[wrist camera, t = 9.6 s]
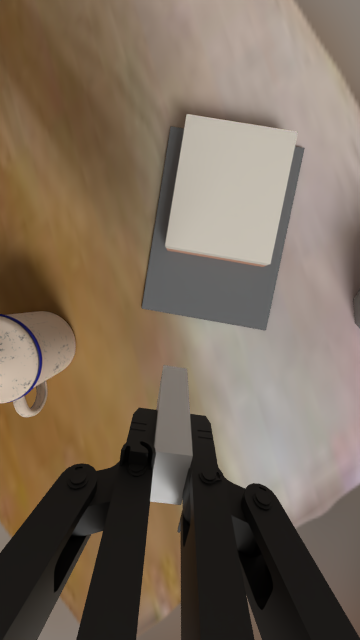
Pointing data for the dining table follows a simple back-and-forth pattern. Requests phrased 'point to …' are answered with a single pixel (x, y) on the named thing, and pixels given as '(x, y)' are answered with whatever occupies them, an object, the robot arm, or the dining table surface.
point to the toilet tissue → (357, 309)
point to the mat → (211, 264)
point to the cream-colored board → (229, 190)
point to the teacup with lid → (32, 356)
